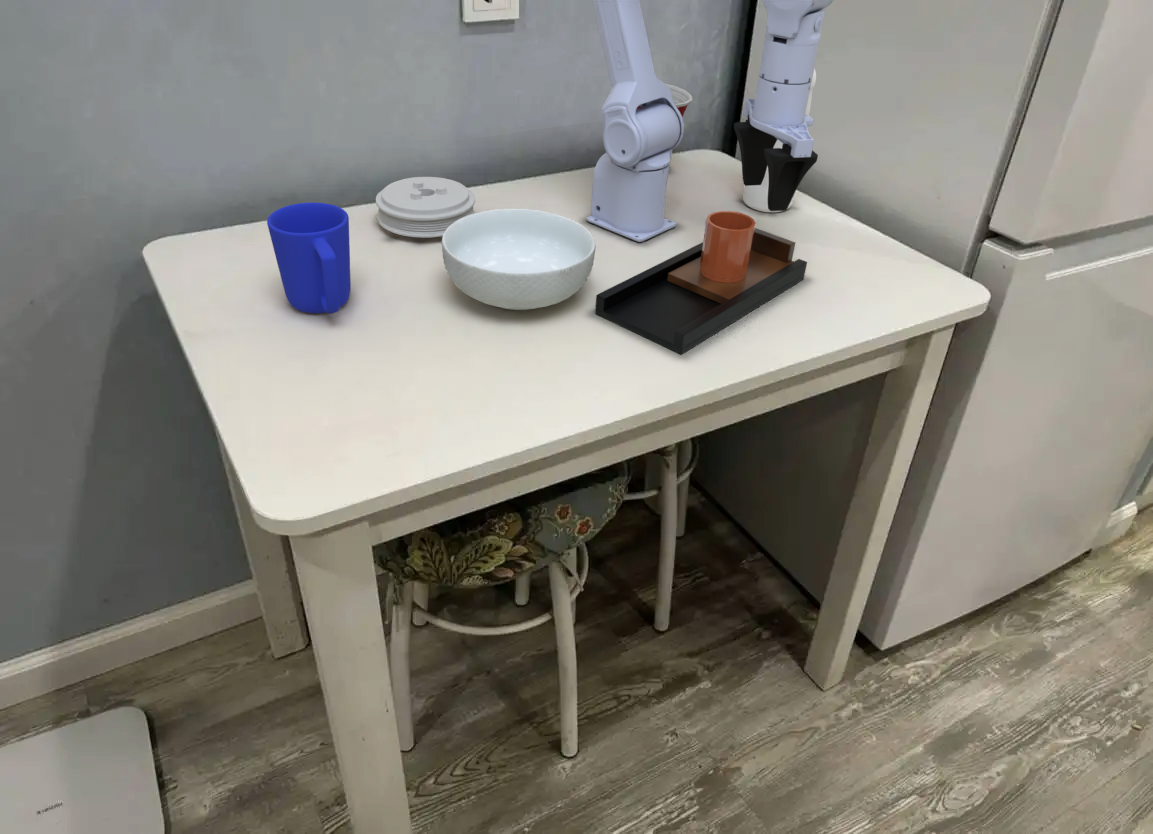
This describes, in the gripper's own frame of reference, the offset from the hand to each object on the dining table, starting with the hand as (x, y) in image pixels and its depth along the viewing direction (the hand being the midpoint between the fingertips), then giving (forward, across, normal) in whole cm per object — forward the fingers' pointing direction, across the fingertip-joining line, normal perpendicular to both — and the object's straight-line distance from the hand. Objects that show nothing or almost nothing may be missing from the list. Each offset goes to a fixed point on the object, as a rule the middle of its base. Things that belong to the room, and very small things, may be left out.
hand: (764, 196), depth 105 cm
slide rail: (+9, -6, +8) cm, 14 cm away
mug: (+10, -3, +51) cm, 52 cm away
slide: (+9, -3, +4) cm, 10 cm away
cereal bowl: (+10, -2, +30) cm, 31 cm away
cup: (+8, -4, +6) cm, 10 cm away
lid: (+10, +18, +38) cm, 43 cm away
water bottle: (+10, +19, -10) cm, 24 cm away
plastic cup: (+10, +34, +3) cm, 36 cm away
